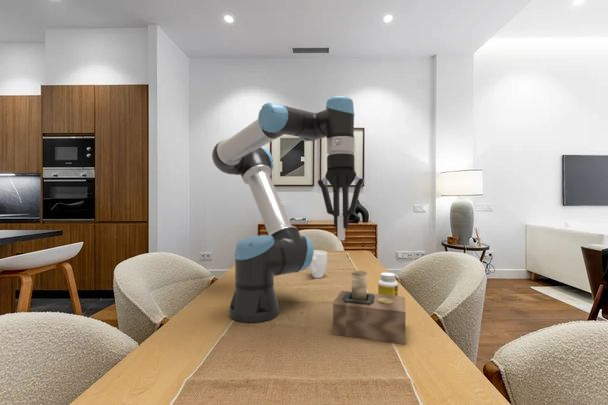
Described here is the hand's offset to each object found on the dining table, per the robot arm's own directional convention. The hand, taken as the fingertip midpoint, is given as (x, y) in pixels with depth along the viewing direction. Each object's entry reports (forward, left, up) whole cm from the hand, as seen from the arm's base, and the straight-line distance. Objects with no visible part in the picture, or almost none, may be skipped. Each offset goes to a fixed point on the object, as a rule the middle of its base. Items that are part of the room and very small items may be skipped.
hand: (341, 239), depth 85 cm
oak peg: (+5, +1, -17) cm, 18 cm away
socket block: (+8, +1, -24) cm, 25 cm away
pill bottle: (+12, +20, -24) cm, 33 cm away
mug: (-20, +49, -24) cm, 58 cm away
